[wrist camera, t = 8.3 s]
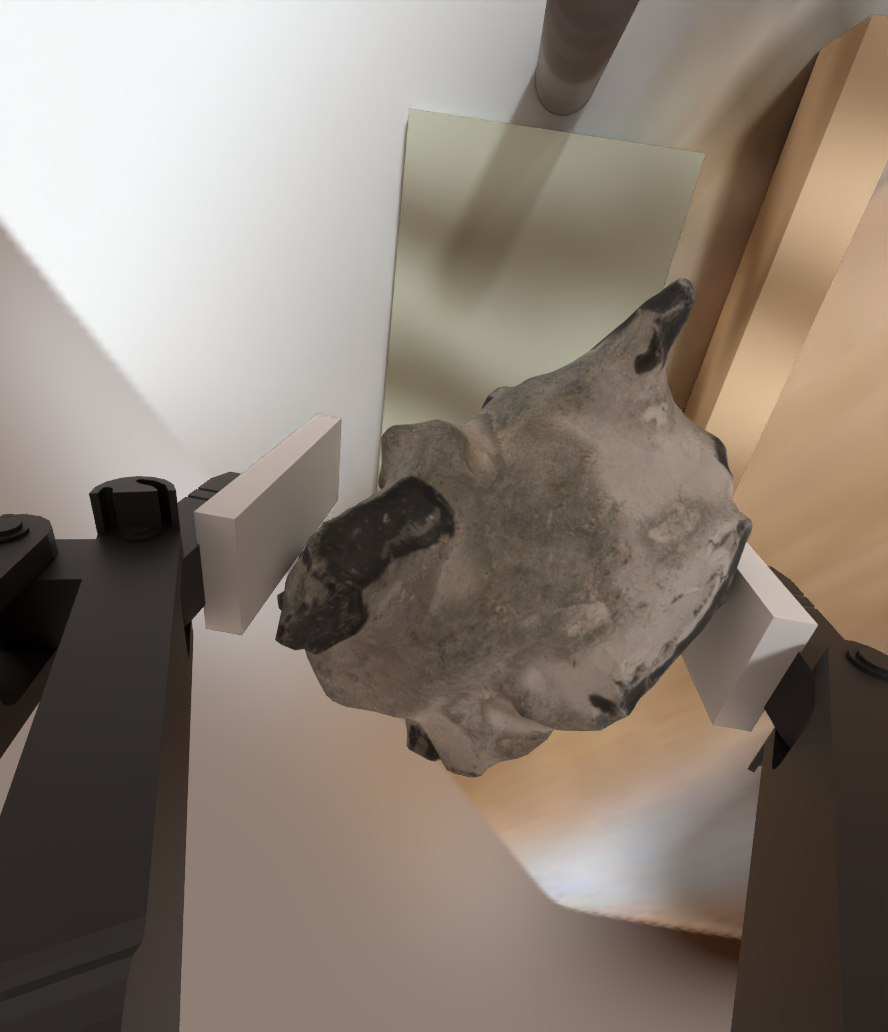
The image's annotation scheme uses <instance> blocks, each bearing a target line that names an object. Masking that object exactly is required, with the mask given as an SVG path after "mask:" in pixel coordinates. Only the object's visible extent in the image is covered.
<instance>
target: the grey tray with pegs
mask: <svg viewBox="0 0 888 1032" xmlns="http://www.w3.org/2000/svg"><path fill="white" fill-rule="evenodd" d="M639 1H640V0H547V4H546V10H545V17H544V23H543V30H542V37H541V43H540V50H539V56H538V63H537V69H536V77H535V85H536V92H537V95H538V98H539V100H540V102H541V103H542V105H543V106H544V107H545V108H546V109H547V110H548V111H549V112H551V113H553V114H556V115H568V114H572V113H574V112H576V111H578V110H579V109H580V108H582V107H583V106H584V105H585V104H586V102H587V101H588V100H589V98H590V97H591V95H592V93H593V91H594V89H595V87H596V85H597V83H598V81H599V79H600V77H601V75H602V73H603V71H604V69H605V67H606V66H607V64H608V62H609V60H610V58H611V56H612V54H613V52H614V50H615V48H616V46H617V44H618V42H619V40H620V38H621V36H622V34H623V32H624V30H625V28H626V26H627V24H628V22H629V20H630V18H631V16H632V14H633V12H634V10H635V8H636V6H637V4H638V2H639ZM705 155H706V153H701V152H694V151H688V150H681V149H674V148H668V147H661V146H654V145H648V144H641V143H635V142H628V141H621V140H615V139H608V138H601V137H595V136H588V135H582V134H575V133H568V132H562V131H555V130H548V129H542V128H535V127H528V126H522V125H515V124H509V123H502V122H495V121H489V120H482V119H475V118H469V117H462V116H455V115H449V114H442V113H436V112H429V111H422V110H416V109H409V119H408V130H407V142H406V154H405V166H404V177H403V189H402V201H401V212H400V224H399V236H398V247H397V259H396V271H395V282H394V294H393V306H392V317H391V329H390V341H389V352H388V364H387V376H386V387H385V399H384V411H383V422H382V434H381V437H382V435H383V434H384V432H385V431H386V430H387V429H388V428H389V427H391V426H393V425H404V424H416V423H421V422H426V421H431V420H436V419H438V420H442V421H445V422H449V423H452V424H456V425H460V426H464V425H466V424H467V423H468V422H470V421H471V420H472V419H473V418H474V417H475V416H476V415H477V414H478V413H479V411H480V410H481V408H482V406H483V404H484V402H485V400H486V398H487V397H488V395H489V394H490V393H491V392H493V391H494V390H495V389H497V388H498V387H504V386H508V387H513V386H517V385H518V384H520V383H522V382H523V381H525V380H527V379H528V378H531V377H535V376H539V375H543V374H546V373H550V372H553V371H555V370H557V369H559V368H561V367H563V366H566V365H568V364H570V363H572V362H573V361H575V360H576V359H578V358H579V357H580V356H582V355H583V354H585V353H586V352H588V351H590V350H591V349H592V348H593V347H594V346H595V345H597V344H598V343H599V342H600V341H601V340H602V339H604V338H605V337H606V336H607V335H608V334H610V333H611V332H612V331H613V330H614V329H615V328H617V327H618V326H619V325H620V324H622V323H623V322H624V321H625V320H626V319H627V318H628V317H629V316H630V315H632V314H633V313H634V312H635V311H636V310H637V309H638V308H639V307H640V306H641V305H642V304H643V303H644V302H645V301H646V300H648V299H650V298H651V297H653V296H655V295H656V294H658V293H660V292H661V291H662V290H663V287H664V284H665V280H666V277H667V274H668V271H669V268H670V265H671V262H672V258H673V255H674V252H675V249H676V246H677V243H678V240H679V236H680V233H681V230H682V227H683V224H684V221H685V218H686V214H687V211H688V208H689V205H690V202H691V199H692V196H693V192H694V189H695V186H696V183H697V180H698V177H699V174H700V170H701V167H702V164H703V161H704V158H705ZM887 161H888V16H882V15H875V14H873V15H871V16H870V17H868V18H867V19H865V20H864V21H862V22H861V23H859V24H858V25H856V26H855V27H853V28H852V29H850V30H849V31H847V32H846V33H844V34H843V35H841V36H840V37H839V38H837V39H836V40H834V41H833V42H831V43H830V44H828V45H827V46H825V47H824V48H822V49H821V50H820V52H819V55H818V57H817V60H816V62H815V65H814V68H813V70H812V73H811V76H810V78H809V81H808V84H807V86H806V89H805V92H804V94H803V97H802V100H801V102H800V105H799V108H798V110H797V113H796V116H795V118H794V121H793V124H792V126H791V129H790V132H789V134H788V137H787V140H786V142H785V145H784V148H783V150H782V153H781V155H780V158H779V161H778V163H777V166H776V169H775V171H774V174H773V177H772V179H771V182H770V185H769V187H768V190H767V193H766V195H765V198H764V201H763V203H762V206H761V209H760V211H759V214H758V217H757V219H756V222H755V225H754V227H753V230H752V233H751V235H750V238H749V240H748V243H747V246H746V248H745V251H744V254H743V256H742V259H741V262H740V264H739V267H738V270H737V272H736V275H735V278H734V280H733V283H732V286H731V288H730V291H729V294H728V296H727V299H726V302H725V304H724V307H723V310H722V312H721V315H720V318H719V320H718V323H717V326H716V328H715V331H714V333H713V336H712V339H711V341H710V344H709V347H708V349H707V352H706V355H705V357H704V360H703V363H702V365H701V368H700V371H699V373H698V376H697V379H696V381H695V384H694V387H693V389H692V392H691V395H690V397H689V400H688V403H687V405H686V408H685V411H684V414H685V415H686V416H687V417H688V418H689V419H690V420H691V421H693V422H694V423H695V424H696V425H697V426H699V427H701V428H702V429H704V430H706V431H708V432H709V433H711V434H713V435H714V436H716V437H718V438H719V439H720V440H721V441H722V443H723V444H724V445H725V447H726V451H727V457H728V466H729V469H730V471H731V473H732V475H733V495H734V493H735V491H736V489H737V486H738V484H739V482H740V480H741V478H742V476H743V473H744V471H745V469H746V467H747V465H748V463H749V460H750V458H751V456H752V454H753V452H754V450H755V447H756V445H757V443H758V441H759V439H760V436H761V434H762V432H763V430H764V428H765V426H766V423H767V421H768V419H769V417H770V415H771V413H772V410H773V408H774V406H775V404H776V402H777V400H778V397H779V395H780V393H781V391H782V389H783V387H784V384H785V382H786V380H787V378H788V376H789V374H790V371H791V369H792V367H793V365H794V363H795V361H796V358H797V356H798V354H799V352H800V350H801V348H802V345H803V343H804V341H805V339H806V337H807V335H808V332H809V330H810V328H811V326H812V324H813V322H814V319H815V317H816V315H817V313H818V311H819V309H820V306H821V304H822V302H823V300H824V298H825V296H826V293H827V291H828V289H829V287H830V285H831V283H832V280H833V278H834V276H835V274H836V272H837V270H838V267H839V265H840V263H841V261H842V259H843V257H844V254H845V252H846V250H847V248H848V246H849V244H850V241H851V239H852V237H853V235H854V233H855V231H856V228H857V226H858V224H859V222H860V220H861V218H862V215H863V213H864V211H865V209H866V207H867V205H868V202H869V200H870V198H871V196H872V194H873V192H874V189H875V187H876V185H877V183H878V181H879V179H880V176H881V174H882V172H883V170H884V168H885V166H886V163H887ZM381 464H382V457H381V446H380V457H379V469H378V477H379V473H380V469H381ZM380 490H381V488H380V487H379V485H378V481H377V492H378V491H380ZM377 492H376V493H377ZM636 705H637V704H636ZM635 707H636V706H635ZM633 710H635V708H634V709H633Z"/></svg>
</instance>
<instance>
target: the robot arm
mask: <svg viewBox="0 0 888 1032" xmlns="http://www.w3.org/2000/svg"><path fill="white" fill-rule="evenodd" d="M340 440H341V418H337V417H331V416H325V415H320V414H316V415H315V416H313V417H312V418H311V419H310V420H308V421H307V422H306V423H305V424H303V425H302V426H301V427H300V428H298V429H297V430H296V431H295V432H293V433H292V434H291V435H290V436H288V437H287V438H286V439H285V440H283V441H282V442H281V443H280V444H278V445H277V446H276V447H274V448H273V449H272V450H271V451H269V452H268V453H267V454H266V455H264V456H263V457H262V458H261V459H259V460H258V461H257V462H256V463H254V464H253V465H252V466H251V467H249V468H248V469H247V470H246V471H244V472H243V473H242V474H239V473H234V472H228V473H225V474H222V475H219V476H216V477H214V478H211V479H210V480H208V481H207V482H205V483H204V484H203V485H201V486H200V487H199V488H198V490H197V489H196V490H194V491H193V492H192V493H190V494H189V495H188V497H185V498H183V499H182V500H181V501H180V502H178V503H177V496H176V490H175V487H174V485H173V484H172V483H170V482H168V481H167V480H164V479H159V478H155V477H142V476H136V477H125V478H119V479H115V480H111V481H107V482H105V483H103V484H100V485H98V486H96V487H95V488H94V489H93V490H92V491H91V492H90V493H89V496H90V500H91V505H92V510H93V514H94V519H95V524H96V529H97V533H98V535H97V538H96V539H86V540H85V539H82V540H81V539H78V540H77V539H75V540H74V539H68V540H67V539H65V540H64V539H62V540H59V539H57V540H56V539H55V538H54V533H53V529H52V526H51V524H50V521H49V520H47V519H45V518H42V517H41V516H35V515H27V514H19V515H14V514H5V515H2V516H0V758H1V757H2V755H3V754H4V752H5V751H6V749H7V748H8V747H9V745H10V744H11V742H12V741H13V739H14V738H15V737H16V735H17V734H18V732H19V731H20V729H21V728H22V726H23V725H24V724H25V722H26V721H27V719H28V718H29V716H30V715H31V713H32V712H33V710H34V709H35V707H36V706H37V705H38V703H39V702H40V703H39V706H38V709H37V711H36V714H35V717H34V720H33V723H32V726H31V729H30V732H29V734H28V737H27V740H26V743H25V746H24V749H23V752H22V755H21V757H20V760H19V764H18V766H17V769H16V772H15V775H14V778H13V781H12V784H11V787H10V789H9V792H8V795H7V798H6V801H5V804H4V807H3V809H2V812H1V815H0V1032H179V1022H180V993H181V966H182V937H183V909H184V882H185V852H186V826H187V798H188V770H189V768H188V767H189V741H190V713H191V712H190V711H191V686H192V657H193V629H192V621H191V620H192V619H193V618H194V617H195V616H196V614H197V613H198V612H199V611H200V610H201V609H202V608H203V607H204V614H205V624H206V629H212V630H217V631H223V632H227V633H233V634H238V635H242V634H243V633H244V631H245V630H246V629H247V627H248V626H249V624H250V623H251V622H252V620H253V619H254V617H255V616H256V614H257V613H258V612H259V610H260V609H261V607H262V606H263V604H264V603H265V602H266V600H267V599H268V597H269V596H270V595H271V593H272V592H273V591H274V589H275V588H276V586H277V585H278V583H279V582H280V581H281V579H282V578H283V576H284V575H285V574H286V572H287V571H288V569H289V568H290V567H291V565H292V564H293V562H294V561H295V560H296V558H297V557H298V555H299V554H300V552H301V551H302V550H303V548H304V547H305V545H306V544H307V541H308V538H309V537H311V536H312V535H313V534H314V533H315V531H316V530H317V529H318V527H319V526H320V524H321V523H322V521H323V520H324V519H325V517H326V516H327V514H328V513H329V512H330V510H331V509H332V507H333V506H334V505H335V503H336V502H337V500H338V482H339V461H340ZM725 598H726V602H725V603H724V604H723V605H722V606H721V607H720V608H719V609H717V610H716V611H715V612H714V614H713V616H712V618H711V619H710V621H709V622H708V624H707V625H706V626H705V628H704V629H703V631H702V632H701V633H700V634H699V635H698V636H697V637H696V638H695V639H694V640H693V641H692V642H691V643H690V645H689V646H688V647H687V648H686V649H685V650H684V651H683V652H682V653H681V655H682V657H683V659H684V662H685V664H686V666H687V668H688V670H689V673H690V675H691V677H692V679H693V682H694V684H695V686H696V688H697V691H698V693H699V695H700V697H701V699H702V702H703V704H704V706H705V708H706V711H707V713H708V715H709V717H710V720H711V722H712V724H713V725H719V726H724V727H729V728H735V729H740V730H745V731H750V732H751V731H752V729H753V728H754V726H755V724H756V723H757V721H758V720H759V718H760V717H761V715H762V713H763V712H764V710H766V712H767V714H768V716H769V717H770V719H771V721H772V722H773V724H774V726H775V728H774V729H773V731H772V732H771V734H770V735H769V737H768V738H767V740H766V741H765V743H764V744H763V746H762V747H761V749H760V750H759V752H758V753H757V755H756V756H755V758H754V759H753V761H752V762H751V764H750V766H749V768H748V769H749V770H751V771H752V772H755V770H756V769H757V767H758V766H761V765H762V771H761V780H760V788H759V797H758V805H757V814H756V822H755V831H754V839H753V847H752V856H751V864H750V873H749V881H748V890H747V898H746V907H745V915H744V924H743V932H742V940H741V949H740V957H739V966H738V975H737V983H736V991H735V1000H734V1008H733V1017H732V1025H731V1032H888V656H887V655H886V654H884V653H882V652H880V651H878V650H876V649H873V648H871V647H869V646H866V645H863V644H860V643H857V642H854V641H848V640H844V639H843V637H842V636H841V635H840V634H839V633H838V632H837V631H836V630H835V629H834V627H833V626H832V625H831V624H830V623H829V622H828V621H827V620H826V619H825V617H824V616H823V615H822V614H821V613H820V612H819V611H818V610H817V609H814V605H813V604H812V603H811V602H810V601H809V600H808V598H807V597H804V594H803V593H802V592H801V591H800V590H799V588H798V587H797V586H796V585H795V584H794V583H793V582H792V581H791V580H790V579H788V578H787V577H786V576H784V575H783V574H781V573H780V572H778V571H777V570H776V569H774V568H773V567H770V566H767V565H766V564H765V563H764V562H763V560H762V559H761V558H760V557H759V556H758V555H757V553H756V552H755V551H754V550H753V549H752V548H751V547H750V545H749V544H748V543H747V542H746V544H745V547H744V550H743V553H742V556H741V558H740V561H739V564H738V567H737V570H736V572H735V575H734V578H733V580H732V582H731V585H730V587H729V589H728V592H727V594H726V596H725Z"/></svg>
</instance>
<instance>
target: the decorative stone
mask: <svg viewBox="0 0 888 1032" xmlns="http://www.w3.org/2000/svg"><path fill="white" fill-rule="evenodd" d="M695 296H696V292H695V290H694V288H693V286H692V284H691V282H690V281H688V280H686V279H678V280H676V281H675V282H673V283H672V284H670V285H669V286H667V287H666V288H665V289H664V290H662V291H661V292H660V293H658V294H656V295H655V296H653V297H651V298H650V299H648V300H646V301H645V302H644V303H643V304H642V305H641V306H640V307H639V308H638V309H637V310H636V311H635V312H634V313H633V314H632V315H630V316H629V317H628V318H627V319H626V320H625V321H624V322H623V323H622V324H620V325H619V326H618V327H617V328H615V329H614V330H613V331H612V332H611V333H610V334H608V335H607V336H606V337H605V338H604V339H602V340H601V341H600V342H599V343H598V344H597V345H595V346H594V347H593V348H592V349H591V350H590V351H588V352H586V353H585V354H583V355H582V356H580V357H579V358H578V359H576V360H575V361H573V362H572V363H570V364H568V365H566V366H563V367H561V368H559V369H557V370H555V371H553V372H550V373H546V374H543V375H539V376H535V377H531V378H528V379H527V380H525V381H523V382H522V383H520V384H518V385H517V386H513V387H508V386H504V387H498V388H497V389H495V390H494V391H493V392H491V393H490V394H489V395H488V397H487V398H486V400H485V402H484V404H483V406H482V408H481V410H480V411H479V413H478V414H477V415H476V416H475V417H474V418H473V419H472V420H471V421H470V422H468V423H467V424H466V425H464V426H460V425H456V424H452V423H449V422H445V421H442V420H438V419H436V420H431V421H426V422H421V423H416V424H404V425H393V426H391V427H389V428H388V429H387V430H386V431H385V432H384V434H383V435H382V437H381V457H382V464H381V469H380V473H379V477H378V485H379V487H380V488H381V490H380V491H378V492H377V493H375V494H374V495H373V496H371V497H369V498H368V499H366V500H364V501H362V502H360V503H359V504H358V505H356V506H355V507H352V508H350V509H348V510H346V511H345V512H343V513H342V514H340V515H339V516H337V517H335V518H333V519H331V520H328V521H326V522H324V523H323V524H322V526H321V527H320V528H319V530H318V531H317V532H315V533H314V534H313V535H312V536H311V537H309V538H308V541H307V544H306V547H305V549H304V551H303V552H301V553H300V555H299V560H298V562H297V563H296V564H295V566H294V567H293V569H292V570H291V571H290V573H289V575H288V577H287V580H286V583H285V591H284V592H282V593H280V594H279V595H277V598H278V605H279V609H280V610H281V616H280V620H279V625H278V630H277V634H276V639H275V640H276V641H278V642H279V643H280V644H281V645H284V646H286V647H289V648H291V649H294V650H300V649H305V651H306V654H307V657H308V660H309V662H310V664H311V666H312V668H313V671H314V672H315V675H316V677H317V679H318V680H319V683H320V684H321V686H322V688H323V690H324V692H325V693H326V695H327V696H328V697H329V698H330V699H331V700H332V701H335V702H337V703H339V704H341V705H343V706H346V707H352V708H358V709H364V710H370V711H375V712H379V713H382V714H386V715H389V716H393V717H399V718H405V719H406V727H407V747H408V749H410V750H411V751H413V752H415V753H417V754H419V755H421V756H422V757H424V758H426V759H428V760H431V761H437V760H442V762H443V764H444V766H445V767H446V769H447V770H448V771H450V772H452V773H455V774H459V775H463V776H468V777H478V776H482V774H483V773H484V772H485V771H486V770H487V768H489V767H491V766H493V765H495V764H496V763H498V762H502V761H507V760H512V759H517V758H519V757H522V756H525V755H527V754H529V753H530V752H531V751H533V750H534V749H535V748H536V747H538V746H539V745H540V744H542V743H543V742H544V741H545V740H547V738H548V737H549V736H550V734H551V733H552V731H553V730H554V729H556V730H564V731H598V730H602V729H604V728H606V727H607V726H609V725H611V724H613V723H614V722H616V721H618V720H620V719H622V718H624V717H627V716H629V715H630V713H631V712H632V711H633V709H634V708H635V706H636V704H637V703H638V701H639V699H640V698H641V697H642V696H643V695H644V694H645V693H646V692H647V691H649V690H650V689H651V688H652V687H653V686H654V685H655V684H656V682H657V681H658V680H659V679H660V678H661V676H662V675H663V674H664V673H665V671H666V670H667V669H668V668H669V667H670V665H671V664H672V663H673V662H674V661H675V660H676V659H677V658H678V657H679V656H680V654H681V653H682V652H683V651H684V650H685V649H686V648H687V647H688V646H689V645H690V643H691V642H692V641H693V640H694V639H695V638H696V637H697V636H698V635H699V634H700V633H701V632H702V631H703V629H704V628H705V626H706V625H707V624H708V622H709V621H710V619H711V618H712V616H713V614H714V612H715V611H716V610H717V609H719V608H720V607H721V606H722V605H723V604H724V603H725V602H726V598H725V596H726V594H727V592H728V589H729V587H730V585H731V582H732V580H733V578H734V575H735V572H736V570H737V567H738V564H739V561H740V558H741V556H742V553H743V550H744V547H745V544H746V542H747V540H748V538H749V536H750V533H751V530H752V522H751V520H750V519H749V518H748V517H746V516H745V515H744V514H742V513H741V512H740V511H739V509H738V508H737V506H736V504H735V503H734V501H733V475H732V473H731V471H730V469H729V466H728V457H727V451H726V447H725V445H724V444H723V443H722V441H721V440H720V439H719V438H718V437H716V436H714V435H713V434H711V433H709V432H708V431H706V430H704V429H702V428H701V427H699V426H697V425H696V424H695V423H694V422H693V421H691V420H690V419H689V418H688V417H687V416H686V415H685V414H684V413H683V412H682V411H681V410H680V408H679V407H678V406H677V405H676V403H675V402H674V400H673V397H672V394H671V392H670V389H669V386H668V383H667V372H666V360H667V356H668V353H669V351H670V349H671V346H672V344H673V342H674V340H675V339H676V337H677V335H678V334H679V332H680V330H681V329H682V327H683V325H684V323H685V322H686V320H687V318H688V316H689V313H690V311H691V308H692V306H693V303H694V300H695Z"/></svg>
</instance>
